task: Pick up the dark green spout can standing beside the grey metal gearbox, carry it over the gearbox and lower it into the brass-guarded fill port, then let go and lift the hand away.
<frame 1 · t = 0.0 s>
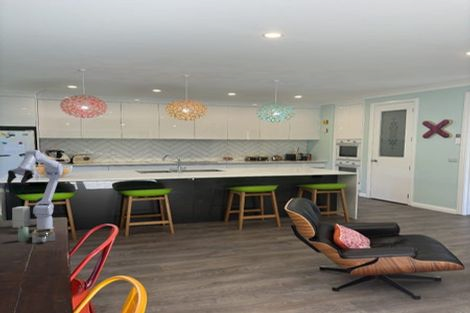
hand: (15, 183, 197), 32 cm above the table, tool tilted 50°, fingers open, 7 cm apart
gearbox: (43, 238, 205), on the table
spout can: (23, 240, 201), on the table
supplement box: (21, 226, 236), on the table
coffee jar: (43, 225, 241), on the table
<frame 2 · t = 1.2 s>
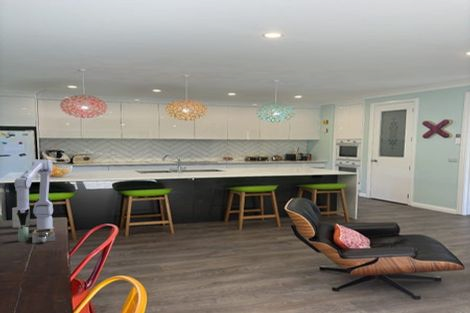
hand: (23, 223, 201), 9 cm above the table, tool pointing down, fingers open, 7 cm apart
nothing on the table moved.
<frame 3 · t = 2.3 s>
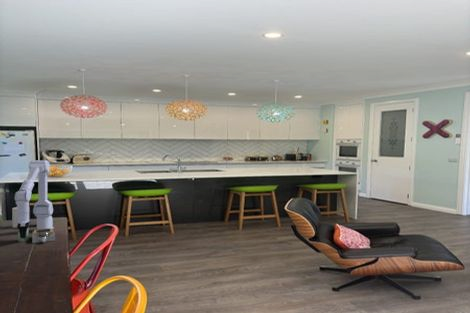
hand: (23, 236, 201), 2 cm above the table, tool pointing down, fingers closed on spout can, 5 cm apart
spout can: (23, 240, 201), on the table, touching gripper
everything else where it was.
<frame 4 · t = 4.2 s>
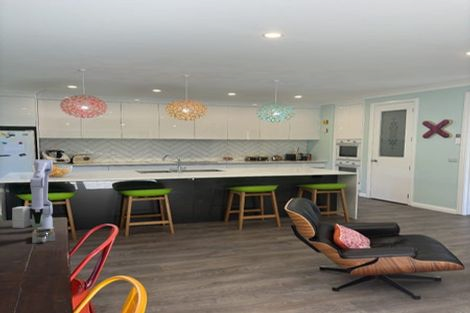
hand: (37, 222, 206), 9 cm above the table, tool pointing down, fingers closed on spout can, 5 cm apart
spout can: (37, 226, 206), point 7 cm above the table, touching gripper
everything else where it was.
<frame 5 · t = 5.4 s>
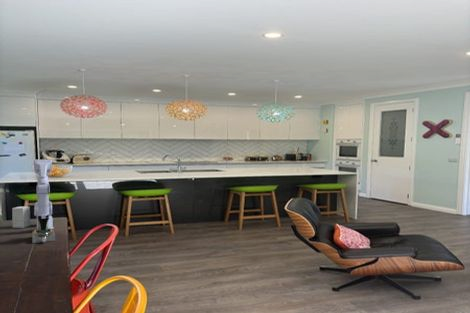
hand: (43, 229, 208), 5 cm above the table, tool pointing down, fingers closed on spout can, 5 cm apart
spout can: (43, 232, 208), point 3 cm above the table, touching gripper
everything else where it was.
when the fingers open (5 cm above the table, at t = 6.1 s): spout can drops 2 cm, resting on gearbox.
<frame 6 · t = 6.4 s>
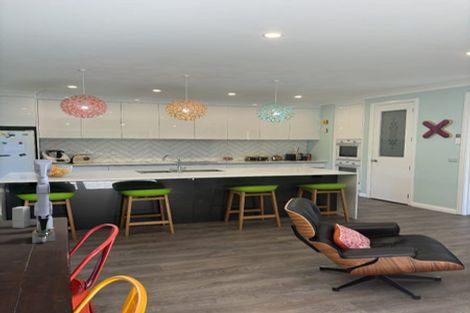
hand: (43, 229, 208), 5 cm above the table, tool pointing down, fingers open, 7 cm apart
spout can: (43, 235, 208), point 1 cm above the table, touching gearbox
everything else where it was.
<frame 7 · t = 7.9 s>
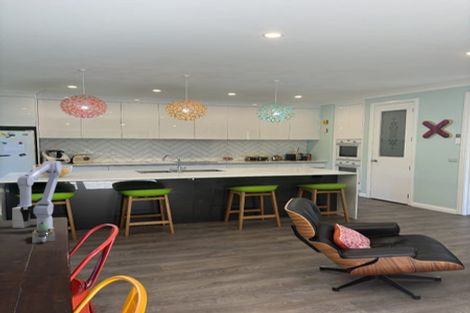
hand: (25, 220, 210), 9 cm above the table, tool pointing down, fingers open, 7 cm apart
nothing on the table moved.
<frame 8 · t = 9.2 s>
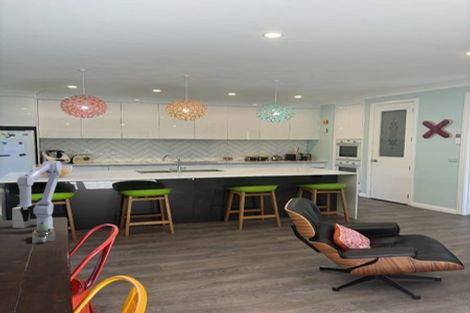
hand: (25, 220, 210), 9 cm above the table, tool pointing down, fingers open, 7 cm apart
nothing on the table moved.
at the end: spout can 0.1 cm from the target spot, point 1.0 cm above the table; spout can tilted 0°; the gripper is holding nothing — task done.
